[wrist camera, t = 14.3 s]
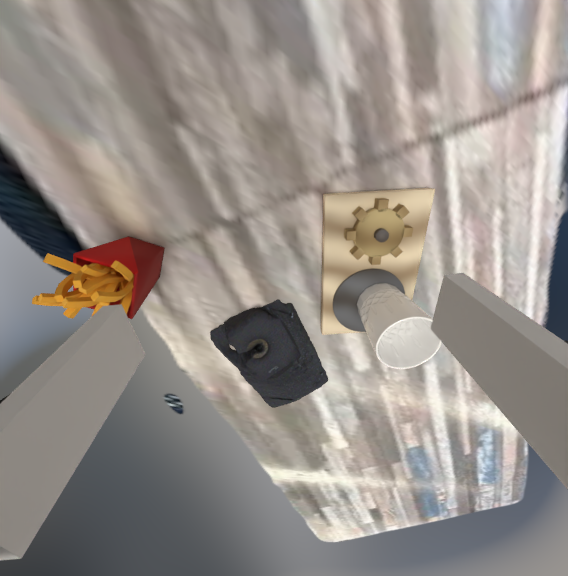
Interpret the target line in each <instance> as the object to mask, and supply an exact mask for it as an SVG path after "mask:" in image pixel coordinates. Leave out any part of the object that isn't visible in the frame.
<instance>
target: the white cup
mask: <svg viewBox="0 0 568 576" xmlns="http://www.w3.org/2000/svg"><path fill="white" fill-rule="evenodd" d="M357 308H358V313H359V315H360V317H361V320H362V323H363V325H364V328H365V330H366V333H367V335H368V337H369V339H370V341H371V344H372V346H373V348H374V350H375V353H376V355H377V357H378V359H379V360H380V361H381V362H382V363H383V364H384V365H386V366H388V367H391V368H395V369H407V368H412V367H415V366H418V365H420V364H423V363H424V362H426V361H427V360H429V359H430V358H431V357H433V356H434V355H435V353H436V352H437V351H438V349H439V348H440V346H441V343H442V342H441V340H440V339H439V338H438V337H437V336H436V335H435V333H434V332H433V331H432V330H431V325H432V321H433V319H432V318H431V317H430V316H429V315H427V314H426V313H425V312H424V311H423V310H422V309H421V308H420V307H419V306H418V305H417V304H416V303H414V302H413V301H412V300H411V299H410V298H408V297H407V296H406V295H405V294H403V293H402V292H401V291H400V290H399V289H398V288H396V287H395V286H393V285H390V284H388V283H378V284H374V285H372V286H370V287H368V288H366V289H365V290H364V292H363V293H362V294H361V295H360V296H359V299H358V302H357Z"/></svg>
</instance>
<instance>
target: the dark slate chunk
mask: <svg viewBox="0 0 568 576" xmlns="http://www.w3.org/2000/svg"><path fill="white" fill-rule="evenodd" d="M210 334H211V340H212V341H213V342H214V345H215V346H216V347H217V348H218V349H219V350H220V351H221V352H222V354H223V355H224V356H225V357H226V358H228V360H229V361H231V363H232V364H234V365H235V366H236V367H237V368H238V369H239V371H240V372H241V375H242V376H243V377H244V378H245V380H246V381H247V382H248V383H249V384H250V385H252V387H253V388H254V389H255V390H256V391H257V392H258V393H259V394H260V395H261V397H262V398H263V399H264V401H265V402H266V403H267V404H268V405H269V406H271V407H278V406H281V405H284V404H289V403H291V402H294V401H297V400H299V399H301V398H302V397H304V396H306V395H308V394H309V393H311V392H313V391H314V390H316V389H318V388H320V387H321V386H322V385H323V384H325V383H326V382H327V381H328V377H327V375H326V371H325V370H324V369H323V367H322V365H321V362H320V359H319V357H318V355H317V352H316V350H315V348H314V346H313V344H312V342H311V341H310V338H309V336H308V334H307V332H306V330H305V329H304V326H303V324H302V323H301V321H300V318H299V317H298V314H297V312H296V310H295V309H294V306H293V304H291V303H287V304H286V305H285V304H284V303H282V302H281V301H280V300H276V301H274V302H273V303H270V304H268V305H265V306H263V307H261V308H252V309H249V310H247V311H244V312H242V313H240V314H238V315H236V316H233V317H231V318H230V319H229V320H228V321H227V322H224V324H223V325H220V326H219V328H217V329H215V330H214V331H211V333H210ZM229 344H230V345H232V346H233V347H234V348H235V349H236V351H235V350H232V349H231V348H230V346H229Z"/></svg>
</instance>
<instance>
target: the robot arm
mask: <svg viewBox="0 0 568 576" xmlns="http://www.w3.org/2000/svg"><path fill="white" fill-rule="evenodd" d="M431 330H432V331H433V332H434V333H435V335H436V336H437V337H438V338H439V339H440V340H441V342H442V343H443V344H444V345H445V346H446V347H447V349H448V350H449V351H450V352H451V353H452V354H453V356H454V357H455V358H456V359H457V360H458V361H459V363H460V364H461V365H462V366H463V367H464V368H465V370H466V371H467V372H468V373H469V374H470V376H471V377H472V378H473V379H474V380H475V381H476V383H477V384H478V385H479V386H480V387H481V388H482V390H483V391H484V392H485V393H486V394H487V395H488V397H489V398H490V399H491V400H492V401H493V402H494V404H495V405H496V406H497V407H498V408H499V409H500V411H501V412H502V413H503V414H504V415H505V416H506V418H507V419H508V420H509V421H510V422H511V423H512V425H513V426H514V427H515V428H516V429H517V431H518V432H519V433H520V434H521V435H522V436H523V438H524V439H525V440H526V441H527V442H528V443H529V444H530V445H531V447H532V448H533V449H534V450H535V452H536V453H537V454H538V455H539V456H540V457H541V459H542V460H543V461H544V462H545V463H546V464H547V466H548V467H549V468H550V469H551V470H552V471H553V473H554V474H555V475H556V476H557V477H558V478H559V480H560V481H561V482H562V483H563V484H564V485H565V487H566V488H567V489H568V341H563V340H561V339H560V338H558V337H557V336H556V335H554V334H553V333H551V332H550V331H548V330H547V329H545V328H544V327H542V326H541V325H539V324H538V323H536V322H535V321H533V320H532V319H530V318H529V317H527V316H526V315H524V314H523V313H522V312H520V311H519V310H517V309H516V308H514V307H513V306H511V305H510V304H508V303H507V302H505V301H504V300H502V299H501V298H499V297H498V296H496V295H495V294H493V293H492V292H490V291H489V290H488V289H486V288H485V287H483V286H482V285H480V284H479V283H477V282H476V281H474V280H473V279H471V278H470V277H468V276H467V275H465V274H464V273H459V274H448V275H444V278H443V281H442V285H441V289H440V293H439V297H438V301H437V305H436V309H435V313H434V317H433V321H432V325H431ZM144 356H145V352H144V350H143V348H142V346H141V344H140V342H139V340H138V338H137V336H136V333H135V332H134V329H133V327H132V325H131V323H130V321H129V319H128V317H127V315H126V313H125V310H124V308H123V306H122V304H120V305H109V306H103V307H101V308H100V309H99V310H98V311H97V312H96V313H95V314H94V315H93V316H92V317H91V318H90V319H89V320H88V321H87V322H86V323H85V324H84V325H83V326H81V327H80V328H79V330H77V331H76V332H75V333H74V334H73V335H72V336H71V337H70V338H69V339H68V340H67V341H66V342H65V343H64V344H63V345H62V346H60V347H59V348H58V349H57V350H56V351H55V352H54V353H53V354H52V355H51V356H50V357H49V358H48V359H47V360H46V361H45V362H44V363H43V364H42V365H41V366H39V367H38V368H37V369H36V370H35V371H34V372H33V373H32V374H31V375H30V376H29V377H28V378H27V379H26V380H25V381H24V382H23V383H22V384H20V386H18V387H17V388H16V389H15V390H14V391H13V392H12V393H11V394H9V395H8V396H6V397H5V398H3V399H2V400H0V560H7V559H20V558H22V556H23V555H24V553H25V552H26V550H27V548H28V546H29V545H30V543H31V541H32V540H33V538H34V537H35V535H36V533H37V532H38V530H39V528H40V527H41V525H42V524H43V522H44V520H45V519H46V517H47V515H48V514H49V512H50V510H51V509H52V507H53V505H54V504H55V502H56V501H57V499H58V497H59V496H60V494H61V492H62V490H63V489H64V487H65V486H66V484H67V482H68V481H69V479H70V478H71V476H72V474H73V473H74V471H75V469H76V468H77V466H78V464H79V463H80V461H81V459H82V458H83V456H84V455H85V453H86V451H87V450H88V448H89V446H90V445H91V443H92V441H93V440H94V438H95V436H96V435H97V433H98V431H99V430H100V428H101V426H102V425H103V423H104V421H105V420H106V418H107V417H108V415H109V413H110V412H111V410H112V408H113V406H114V405H115V403H116V402H117V400H118V398H119V397H120V395H121V394H122V392H123V390H124V389H125V387H126V385H127V384H128V382H129V380H130V379H131V377H132V376H133V374H134V372H135V371H136V369H137V367H138V366H139V364H140V362H141V361H142V359H143V357H144Z"/></svg>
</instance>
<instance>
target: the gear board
mask: <svg viewBox="0 0 568 576" xmlns="http://www.w3.org/2000/svg"><path fill="white" fill-rule="evenodd" d="M434 192H435V189H432V188H416V189H400V190H383V191H366V192H349V193H332V194H323V240H322V294H321V332H322V335H326V334H342V333H358V332H366V330H365V328H364V325H363V323H362V320H361V317H360V315H359V313H358V308H357V302H358V299H359V296H360V295H361V294H362V293H363V292H364V290H365V289H366V288H368V287H370V286H372V285H374V284H378V283H388V284H390V285H393V286H395V287H396V288H398V289H399V290H400V291H401V292H402V293H403V294H405V295H406V296H407V297H408V298H410V299H411V300H412V298H413V293H414V288H415V284H416V279H417V274H418V269H419V264H420V260H421V255H422V250H423V245H424V240H425V235H426V231H427V226H428V221H429V216H430V211H431V207H432V202H433V197H434Z"/></svg>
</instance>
